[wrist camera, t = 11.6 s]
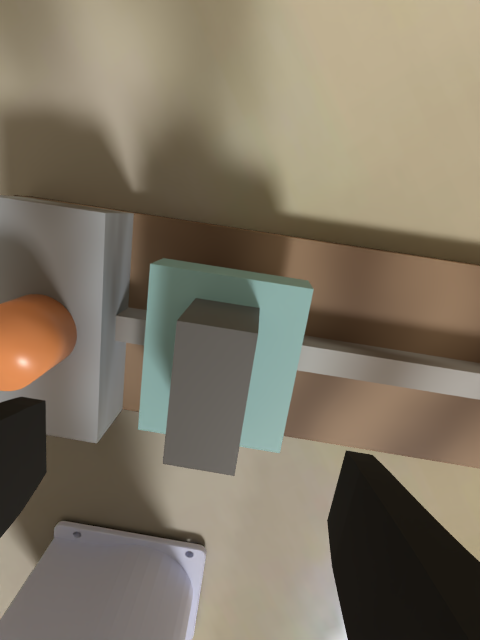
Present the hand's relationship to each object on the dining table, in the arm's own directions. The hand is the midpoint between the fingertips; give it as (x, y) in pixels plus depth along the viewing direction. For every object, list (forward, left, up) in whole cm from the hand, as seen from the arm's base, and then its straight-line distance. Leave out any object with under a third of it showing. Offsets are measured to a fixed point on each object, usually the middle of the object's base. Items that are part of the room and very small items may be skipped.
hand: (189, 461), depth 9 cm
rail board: (+5, 0, -10) cm, 11 cm away
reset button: (-7, 0, -6) cm, 10 cm away
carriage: (0, 0, -8) cm, 8 cm away
